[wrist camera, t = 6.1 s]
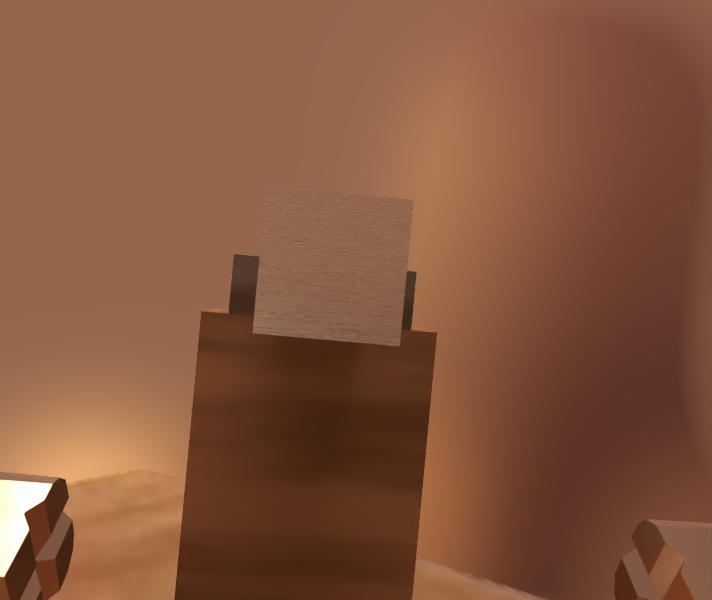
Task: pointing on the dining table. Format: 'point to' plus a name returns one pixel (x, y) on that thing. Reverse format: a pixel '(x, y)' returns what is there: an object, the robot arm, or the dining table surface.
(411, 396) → the knife block
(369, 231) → the brushed square bar end
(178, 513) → the dining table surface
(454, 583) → the dining table surface
